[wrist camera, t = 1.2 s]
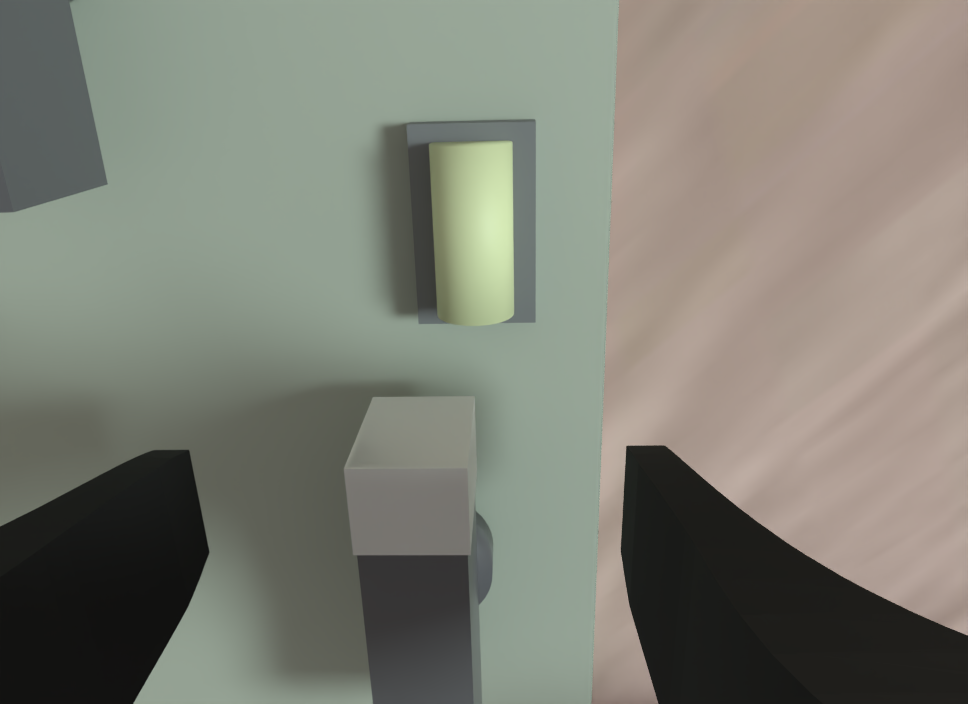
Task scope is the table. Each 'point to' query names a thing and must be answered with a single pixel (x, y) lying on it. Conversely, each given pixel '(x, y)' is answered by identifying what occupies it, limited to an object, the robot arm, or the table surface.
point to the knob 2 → (420, 548)
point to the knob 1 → (44, 108)
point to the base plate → (328, 310)
